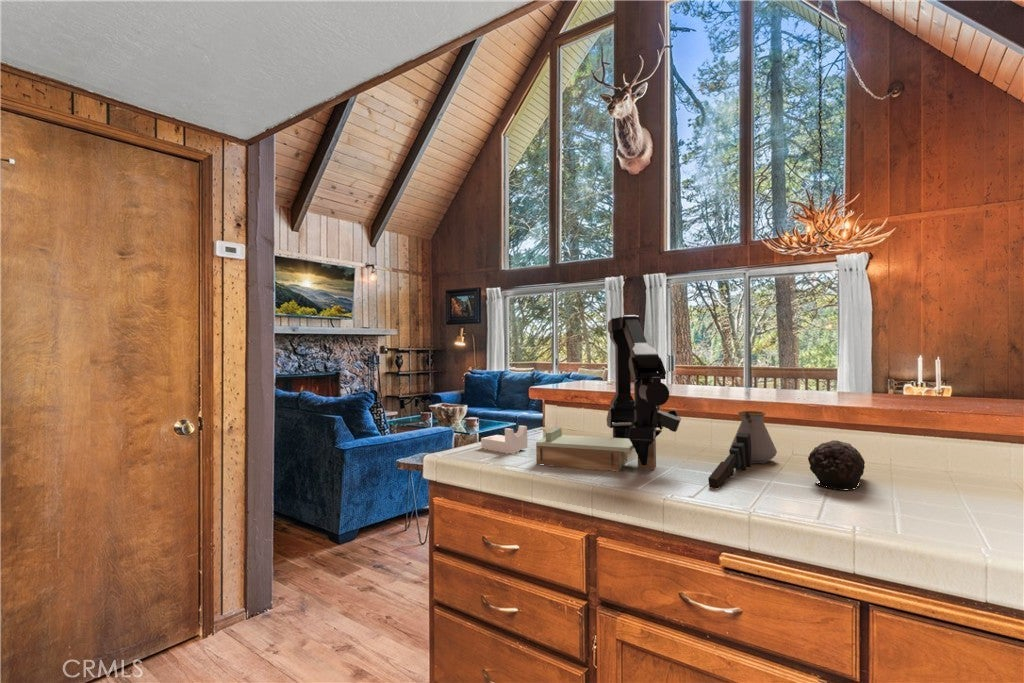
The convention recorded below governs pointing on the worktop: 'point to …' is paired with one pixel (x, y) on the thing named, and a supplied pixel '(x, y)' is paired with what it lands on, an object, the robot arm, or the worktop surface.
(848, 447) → the pine cone
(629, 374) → the robot arm
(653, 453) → the brown stepped square block
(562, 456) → the brown box
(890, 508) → the worktop surface
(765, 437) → the coffee pot
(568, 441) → the lid
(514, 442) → the bracket
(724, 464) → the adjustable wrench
